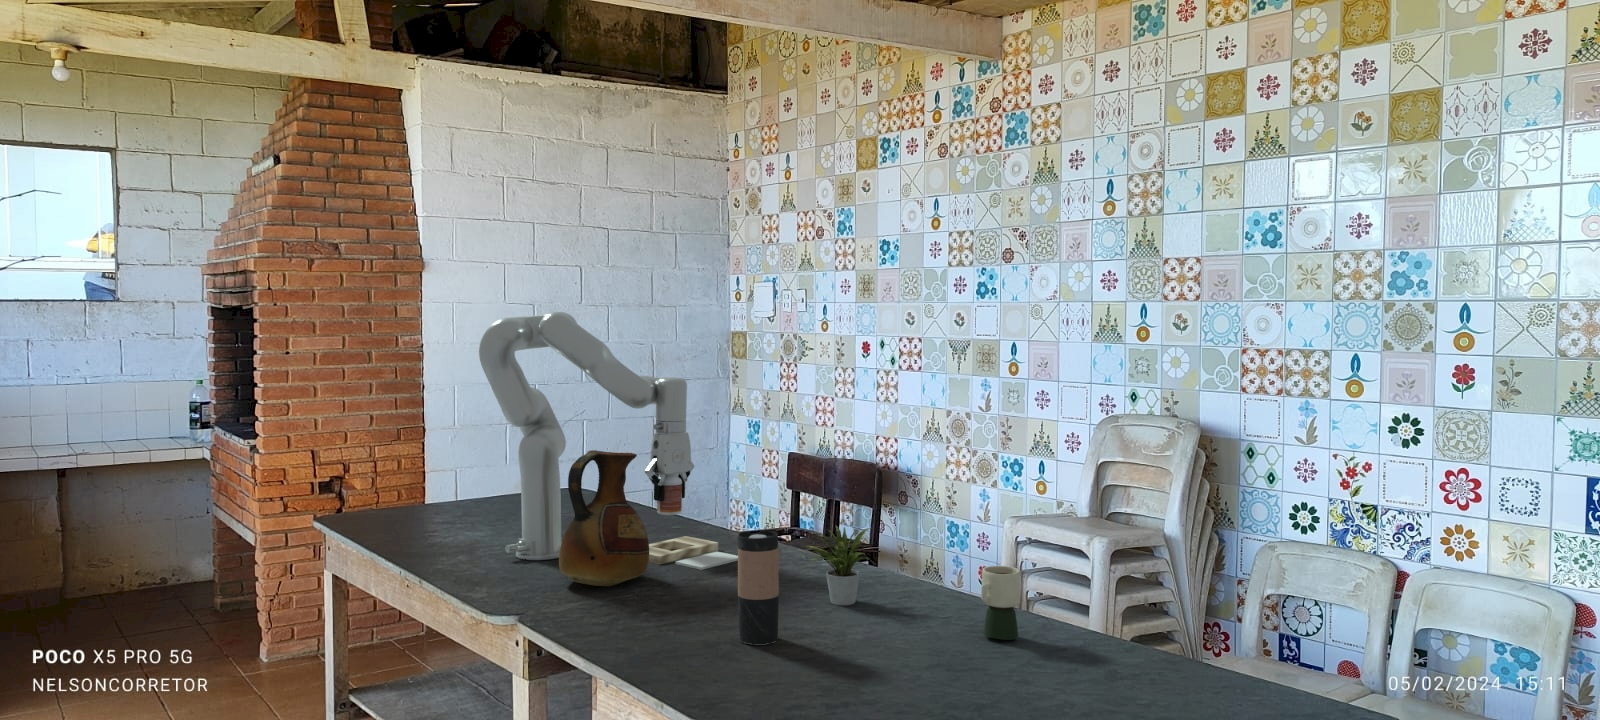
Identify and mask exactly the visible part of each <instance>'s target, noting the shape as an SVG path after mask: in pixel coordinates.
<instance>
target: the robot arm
mask: <svg viewBox="0 0 1600 720" xmlns="http://www.w3.org/2000/svg"><path fill="white" fill-rule="evenodd" d="M541 348H550V349H552V350H554V351H555V352H557V353H558V354H560V355H561V356H563V358H564V359H566V360H568V361H569V362H571V364H573V365H574V366H576V367H577V368H579V369H580V370H581V371H583V372H584V373H585V374H586V375H587V376H588V377H590V379H592V380H593V381H595V383H597V384H598V385H600V386H601V387H602V388H603V389H604V390H606V391H607V392H608V393H609V394H611V395H612V396H614V397H615V398H616V399H617V400H619V401H621V402H622V403H623V404H625V406H628V407H629V408H633V409H637V410H638V409H642V408H643V409H644V408H645V407H647V406H649V405H655V424H653V429H654V430H655V433H653V437H652V442H651V449H650V451H651V452H650V463H649V464H648V466H646V469H645V470H644V473H645V475H646V476H647V477H648V479H649V480H650V482H651V485H653V500H654V501H656V502H657V501H661V502H662V501H664V485H662V484H663V481H664V478H665V475H668V474H676V473H679V475H678V477H679V478H680V479H681V480H682V499H685V497H686V483H687V482H688V478H689V476H690V475H691V472H693V470H694V468H695V464H694V463H693V462H692V451H691V450H692V449H691V442H690V441H691V439H690V435H689V432H688V431H687V405H688V404H687V399H688V397H687V395H688V392H687V391H688V389H687V388H688V386H687V385H688V384H687V381H686V379H684V378H681V377H654V376H649V375H639V374H636V373H635V372H634V371H632V370H631V369H630V368H629V367H628V366H626V365H624V364H623V363H622V362H620V360H619V359H617V357H615V355H614V354H613V352H612V351H611V350H610V348H609V347H608V346H607V344H605V342H603V341H602V340H600V339H599V338H597V337H596V336H595V335H593V334H592V333H590V332H589V331H587V330H586V329H585V328H583V327H582V326H581V325H579V324H578V322H577V320H576V319H575V318H574V317H573V316H572V315H571V314H570V313H568V312H564V311H554V312H553V311H552V312H550V313H545V314H536V315H525V316H512V317H504V318H500V319H498V320H495V322H493V323H492V324H490V326H489V327H487V329H486V330H485V332H484V333H483V334H482V337H481V339H480V342H479V349H478V356H479V362H480V365H481V368H482V371H483V372H484V375H485V377H486V379H487V381H488V383H489V385H490V387H491V390H492V392H493V395H494V397H495V399H496V400H497V402H498V404H499V407H500V409H501V412H502V413H503V416H504V418H505V419H506V421H507V422H508V424H510V425H511V426H513V427H516V428H519V429H520V432H521V434H522V435H523V437H522V438H521V441H520V442H519V445H518V453H517V454H518V463H519V473H520V494H521V498H520V499H521V538H520V537H519V538H518V539H517V540H518V541H517V542H516V543H515V544H514V543H512V544H507V545H505V547H504V550H505V553H506V554H511V553H515V557H516V558H518V559H520V560H525V559H526V560H528V561H542V560H543V561H544V560H545V561H546V560H548V561H549V560H554V559H559V552H560V547H561V543H562V510H561V509H562V505H561V502H562V501H561V500H562V499H561V497H562V496H561V475H560V474H561V473H560V466H559V465H560V464H559V463H560V462H559V461H560V460H559V459H560V457H562V455H563V454H564V452H565V450H566V444H567V443H566V442H567V440H566V436H565V434H564V431H563V429H562V427H561V425H560V423H559V421H558V418H557V417H556V414H555V413H554V410H553V409H552V408H553V407H552V406H551V404H550V402H549V400H548V398H547V396H546V395H545V394H544V393H543V392H542V391H541V390H540V389H537V388H535V387H532V386H531V384H529V382H528V380H527V378H526V375H525V373H524V371H523V369H522V367H521V365H520V364H519V362H518V360H517V358H516V355H515V354H516V352H517V351H524V350H531V349H532V350H533V349H541Z"/></svg>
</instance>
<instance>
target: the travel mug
mask: <svg viewBox="0 0 1600 720" xmlns="http://www.w3.org/2000/svg"><path fill="white" fill-rule="evenodd" d="M778 535H779V534H778V533H777V532H775V531H772V530H760V531H759V532H757V533H755V532H754V533H751V532H750V531H748V530H746V531H741V532H739V533H738V534H737V556H738V561H737V603H738V604H737V607H738V608H737V610H738V630H739V631H738V632H739V633H738V634H739V641H740V640H741V641H743V642H746V643H752V644H766V643H772V642H774V641H776V640H777V641H778V636H779V607H780V605H779V603H780V602H779V601H780V596H779V593H780V589H779V588H780V586H779V584H780V583H779V582H780V579H779V536H778ZM777 641H776V642H777Z"/></svg>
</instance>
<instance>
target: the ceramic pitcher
mask: <svg viewBox="0 0 1600 720" xmlns="http://www.w3.org/2000/svg"><path fill="white" fill-rule="evenodd" d="M636 457H638V456H637V454H636V453H633V452H614V451H613V452H611V451H610V452H609V451H601V450H594V449H593V450H588V451H587V453H585V454H584V455H581V456H580V457H578V458H577V459H576V460H575V461H574V462H573V464H572V465H571V467H570V468H569V472H568V477H567V488H568V489H567V490H568V494H569V499H570V502H571V505H572V508H573V509H572V510H573V511H574V517H573V519H572V520H571V522H570V523H569V524H568V527H567V528H566V530H565V533H564V535H563V536H562V538H561V547H560V552H559V558H558V566H559V572H560V574H562V575H563V576H565V577H567V578H569V579H571V580H572V581H573V582H575V583H579V584H584V585H590V586H595V587H596V586H597V587H613V586H616V585H619V584H622V583H623V582H626V581H629V580H633V579H636V578H639V577H640V576H642V575H643V574H644V573H646V571H647V569H648V567H649V566H648V565H649V544H650V543H649V537H648V534H647V533H648V532H647V529H646V527H645V524H644V521H643V520H642V518H641V517H640V515H639V514H638V513H637V511H636V510H635V509H634V507H632V506H631V505H630V504H629V503H628V502H627V500H626V495H625V488H624V487H625V483H626V480H627V476H626V473H627V468H628V466H629V464H630V463H631V462H632V461H633V460H634V459H636ZM590 462H595V464H596V465H597V469H598V485H597V489H596V492H595V496H594V497H593V499H592V501H591V502H589V503H588V504H586V502H585V498H584V497H583V492H582V483H583V482H582V481H583V475H584V471H585V469H586V466H587V465H588V464H589V463H590Z"/></svg>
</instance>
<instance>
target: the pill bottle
mask: <svg viewBox="0 0 1600 720" xmlns="http://www.w3.org/2000/svg"><path fill="white" fill-rule="evenodd" d="M678 475H679V473H676V474H668V475H665V478H664V481H663V484H662V485H664V501H662V502H661V501H656V513H657V514H658V515H659V514H660V515H664V516H673V515H674V516H675V515H676V516H677V515H679V514H681V513H682V508H683V507H682V505H683V503H682V502H683V498H682V480H681V479H680V478H679V477H678Z"/></svg>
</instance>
